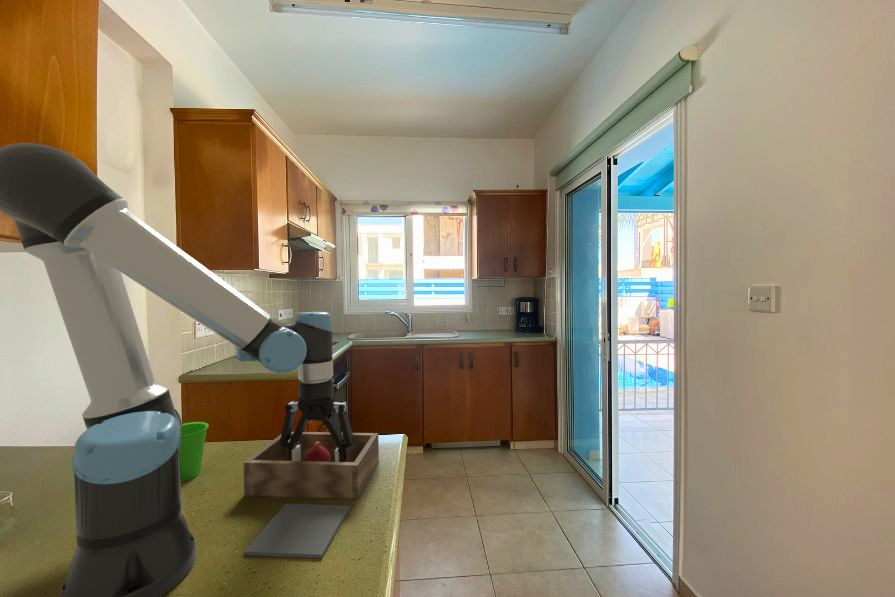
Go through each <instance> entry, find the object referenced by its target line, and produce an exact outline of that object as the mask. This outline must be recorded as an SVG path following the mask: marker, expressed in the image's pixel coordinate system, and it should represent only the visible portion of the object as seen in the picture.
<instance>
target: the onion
mask: <svg viewBox="0 0 895 597" xmlns="http://www.w3.org/2000/svg"><path fill="white" fill-rule="evenodd" d="M320 444H321V443H320V442H316V443H315V445H314V447H312V448H311V449H310V450H309V451H308V452H307V454H306V456H305V459H304V461H315V462H330V461H331V459H330V453H329V451H328V450H327V449H326V448H325V447H323V446H321V445H320Z"/></svg>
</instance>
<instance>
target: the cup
mask: <svg viewBox="0 0 895 597" xmlns="http://www.w3.org/2000/svg"><path fill="white" fill-rule="evenodd" d="M209 427H210V426H209V424H208V422H203V421H192V422H187V423H182V434H181V440H180V482H184V481H188V480H192V479H194V478H195V477H197V476H198V475H199V474H200V472H201V468H202V460H203V454H204V448H205V442H206V436H207V435H206V434H207V429H208V428H209Z"/></svg>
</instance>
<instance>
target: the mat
mask: <svg viewBox="0 0 895 597" xmlns="http://www.w3.org/2000/svg"><path fill="white" fill-rule="evenodd" d="M349 510H350V505H341V504H340V505H337V504H335V505H334V504H308V503H307V504H305V503H285V504H284V505H283V506H282V507H281V508H280V509H279V510H278V511H277V513H275V515H274V516H273V517H272V518H271V520H270V521H269V522H268V523H267V524H266V525H265V526H264V528H263V529H262V530H261V531H260V532H259V533H258V535H257V536H256V537H255V538H254V539H253V540H252V541H251V543H250V544H249V545H248V546H247V547H246V549H245V550H244V551H243V555H244V556H257V557H259V556H260V557H278V558H279V557H282V558H284V557H285V558H286V557H287V558H305V559H306V558H310V559H322V558H323V557H324V555H325V554H326V552H327V550H328V548H329V546H330V545H331V543H332V541H333V539H334V537H335V535H336V534H337V532H338V530H339V528H340V526H341V524H342V523H343V521H344V519H345V518H346V516H347V514H348V513H349Z"/></svg>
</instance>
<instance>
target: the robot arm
mask: <svg viewBox="0 0 895 597" xmlns="http://www.w3.org/2000/svg"><path fill="white" fill-rule="evenodd" d="M128 204H129V203H128V201H127V200H126V199H125V198H124V197H122V196H121V195H120V194H118V193H117V192H116V191H114V190H113V189H112V188H111V187H109V186H108V185H107V184H106V183H105V182H104V181H103V180H102V179H100V178H99V177H98V176H97V175H96V174H95V173H94V172H93V171H92V170H91V169H90V168H89V167H88V165H87V164H86V163H84V162H83V161H81V159H79V158H77V157H75V156H74V155H72V154H70V153H68V152H66V151H64V150H62V149H59V148H56V147H54V146H50V145H47V144H46V145H45V144H42V143H41V144H40V143H35V142H34V143H32V142H27V143H26V142H21V143H12V144H11V143H10V144H8V145H5V146H1V147H0V212H1V213H2V214H4V215H6V216H8V217H9V218H11V219H13V222H14V225H15V227H16V231H17V234H18V236H19V238H20V242H21V244H22V247H23V250H24V252H25V253H27V254H29V255H31V256H33V257H35V258H38V259H39V260H41V261H42V262H43V265H44V267H45V271H46V273H47V277H48V279H49V282H50V285H51V288H52V290H53V294H54V297H55V301H56V302H57V306H58V308H59V312H60V314H61V317H62V320H63V323H64V326H65V329H66V331H67V334H68V338H69V341H70V342H71V346H72V349H73V352H74V356H75V358H76V361H77V364H78V366H79V370H80V373H81V376H82V378H83V381H84V384H85V387H86V390H87V393H88V396H89V400H90V403H89V405H88V406H87V407H86V408H85V410H84V411H83V412H82V413H81V415H82V416H81V417H82V418H83V422H84V425H85V427H86V430H84V431H83V432H82V433H81V434H80V435H79V436H78V438H77V439H76V441H75V444H74V448H73V450H74V451H73V454H72V457H71V467H72V471H73V475H74V476H73V478H74V479H73V481H74V505H75V532H76V533H75V534H76V535H75V536H76V538H75V539H76V548H75V551H74V553H73V556H72V560H71V562H70V565H69V566H70V567H69V570H68V575H67V577H66V579H65V580H64V582H63V583H62V586H61V589H60V591H59V597H163V596H164V595H165V594H166V593H168V592H170V591H171V590H172V589H173V588H175V587H176V586H177V585H178V584H179V583H180V582H181V581H183V579H185V577H186V576H187V575H188V574H189V572H190V571H191V569H193V566H194V565H195V561H196V558H197V550H196V548H197V547H196V539H195V537H194V535H193V534H192V533H191V531H190V529H189V526H188V523H187V520H186V519H185V516H184V514H183V512H182V502H181V500H182V499H181V498H182V494H181V493H182V492H181V487H182V486H181V481H180V440H181V434H182V424H183V422H182V421H183V420H182V417H181V415H180V413H179V412H178V410H177V409H176V408H175V406H174V403H173V399H172V396H171V393H170V389H169V387H168V386H167V385H163V384H162V383H159V382H157V381H155V377H154V373H153V370H152V367H151V364H150V361H149V357H148V354H147V351H146V348H145V345H144V342H143V339H142V335H141V332H140V329H139V326H138V322H137V319H136V316H135V314H134V311H133V307H132V303H131V301H130V300H131V299H130V296H129V293H128V291H127V287H126V285H125V281H124V278H123V275H125V276H127V277H128V278H129V279H131V280H132V281H134V282H136V283H137V284H139V285H140V286H142V287H144V288H145V289H147V290H148V291H149V292H151V293H152V294H155V295H156V296H157V297H159V298H160V299H162V300H163V301H165V302H167V303H168V304H170V305H171V306H173V307H174V308H176V309H177V310H179V311H180V312H182V313H183V314H185V315H186V316H188V317H190V318H191V319H193V320H194V321H196V322H197V323H199V324H200V325H202V326H203V327H205V328H206V329H208V330H210V331H211V332H213V333H214V334H216V335H217V336H219V337H220V338H222V339H224V340H225V341H227V342H228V343H230V344H231V345H233V346H235V347H234V348H235V355H236V359H237V360H238V362H255V361H256V362H259V363H260V364H261V365H262V366H263V367H264V368H265V369H266V370H269V372H274V373H278V374H285V373H291V372H292V371H295V370H296V369H297V378H298V380H299V382H298V384H297V386H298V390H297V391H298V398H299V399H298V402H297V401H296V402H295V401H294V400H292V401H290V402H288V403H287V404H285V406H284V409H285V410H284V411H285V416H284V423H283V425H282V430H281V434H280V435H281V439H280V443H279V444H280V446H285V447H287V448H288V457H289V458H288V460H289V461H301V445H297V446H296V444H297V443H298V441H299V439H300V437H301V435H302V433H303V432H305V428H306V427H307V425H308V423H309V422H312V421H317V422H322V423H323V425H324V426H326V429H327V431H328V432H330V434H331V436H332V438H333V440H334V442H335V443H336V445H337V447H338V448H337V449H336V450H335V462H345V461H346V448H347V447H348V448H349V447H351V445H352V444H353V443H354V437H353V433H354V432H353V430H352V426H351V422H350V419H349V414H348V402H347V401H343V402H337V401H336V400H335V399H334V379H333V378H332V377H333V376H334V366H333V365H334V360H333V333H334V330H333V322H332V321H333V319H332V315H331V314H330V313H329V312H328V311H306V312H299V313H297V315H296V319H295V321H290V322H280V321H279V320H277V319H276V318H274V317H273V316H271V314H269V313H268V312H267V311H265V310H264V309H263V308H261V307H260V306H258V305H257V304H256V303H255V302H254V301H252V300H250V299H249V298H247V297H246V296H245V295H244V294H242V293H241V292H239V291H238V290H237V289H235V288H234V287H233V286H232V285H230V284H229V283H227V282H226V281H224V280H223V279H222V278H221V277H219V276H217V275H216V274H215V273H214V272H212V271H211V270H209V268H207V267H206V266H204V265H203V264H202V263H200V262H199V261H197V260H196V259H195V258H193V257H192V256H191V255H189V254H188V253H187V252H185V251H184V250H183V249H181V248H180V247H178V246H177V245H175V244H174V243H173V242H172V241H170V240H169V239H167V238H166V237H164V236H163V234H161V233H159V232H157V231H156V230H155V229H154V228H153V227H151V226H150V225H149V224H147V223H145V222H144V221H143V220H142V219H140V218H139V217H137V216H136V215H135V214H134V213H132V212H131V211H130V210H129V206H128ZM122 274H123V275H122ZM334 409H335V412H336V413H337V417H338V418H337V419H338V421H339V423H340V424H339V425H340V427H339V425H338V423H337V422H336V419H335V415H334V413H333V412H332V411H333V410H334ZM298 410H299V411H300V412H301V413H302V414H301V416H300V418H299V420H298V424H297V425H296V428H295V430H293V427H294V423H295V417H296V416H297V411H298ZM291 432H294V433H293V435H292V437H291ZM342 433H343V434H342ZM290 437H291V439H290Z"/></svg>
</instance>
